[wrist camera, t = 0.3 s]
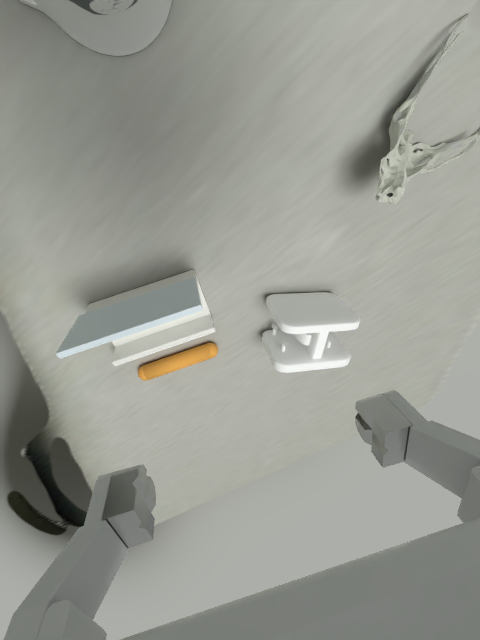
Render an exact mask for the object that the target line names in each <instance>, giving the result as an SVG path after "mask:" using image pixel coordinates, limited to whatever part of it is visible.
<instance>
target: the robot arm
mask: <svg viewBox="0 0 480 640" xmlns="http://www.w3.org/2000/svg"><path fill="white" fill-rule="evenodd" d="M20 1H21V2H23V3H25V4H27V5H29V6H31V7H33V8H35V9H38V10H40V11H42V12H44V13H45V14H46V15H48V16H49V17H50V18H51V19H52V20H53V21H54V22H55V23H56V24H57V25H59V26H60V27H61V28H62V29H63V30H64V31H65V32H66V33H67V34H68V35H69V36H71V37H72V38H73V39H75V40H76V41H77V42H79V43H80V44H82V45H84V46H85V47H87V48H89V49H91V50H94V51H96V52H99V53H102V54H106V55H112V56H124V55H130V54H133V53H136V52H139V51H141V50H142V49H144V48H146V47H147V46H148V45H149V44H151V43H152V42H153V41H154V40H155V38H156V37H157V36H158V35H159V33H160V32H161V30H162V28H163V26H164V25H165V22H166V20H167V17H168V15H169V11H170V8H171V4H172V0H20ZM355 409H356V410H357V411H358V414H357V415H356V417H355V421H356V426H357V430H358V432H359V434H360V436H361V437H362V439H363V440H364V441H365V442H366V443H368V444H370V445H372V451H371V452H372V453H373V455H374V456H375V457H376V459H377V460H378V462H379V463H380V465H381V466H382V467H386V466H390V465H394V464H397V463H400V462H404V461H405V463H406V464H408V465H409V466H411V467H413V468H414V469H416V470H418V471H419V472H421V473H422V474H424V475H425V476H427V477H429V478H430V479H432V480H433V481H435V482H436V483H438V484H440V485H441V486H443V487H444V488H446V489H448V490H449V491H451V492H452V493H454V494H456V495H457V496H459V497H460V498H462V500H461V503H460V506H459V509H458V515H457V516H458V517H459V518H460V519H461V521H462V522H463V524H460V525H456V526H454V527H451V528H448V529H445V530H442V531H439V532H436V533H433V534H430V535H427V536H424V537H421V538H418V539H415V540H412V541H409V542H407V543H403V544H401V545H397V546H395V547H392V548H389V549H386V550H383V551H380V552H377V553H374V554H371V555H368V556H365V557H362V558H359V559H356V560H353V561H350V562H347V563H344V564H341V565H338V566H336V567H333V568H330V569H327V570H324V571H321V572H318V573H315V574H312V575H309V576H306V577H303V578H300V579H297V580H294V581H291V582H288V583H285V584H283V585H279V586H277V587H274V588H271V589H268V590H265V591H262V592H259V593H256V594H253V595H250V596H247V597H244V598H241V599H238V600H235V601H232V602H230V603H227V604H224V605H220V606H218V607H215V608H212V609H209V610H206V611H203V612H200V613H197V614H194V615H191V616H188V617H186V618H182V619H179V620H177V621H173V622H170V623H167V624H165V625H162V626H159V627H156V628H153V629H150V630H147V631H144V632H141V633H138V634H135V635H132V636H129V637H127V638H124V639H120V640H480V440H478V439H476V438H473V437H471V436H469V435H466V434H464V433H461V432H459V431H456V430H454V429H451V428H449V427H446V426H444V425H441V424H439V423H436V422H434V421H427V420H426V419H425V418H424V417H423V416H422V415H421V414H420V413H419V412H418V411H417V410H416V409H415V408H414V407H413V406H411V405H410V404H409V403H408V402H407V401H406V400H405V399H404V398H403V397H402V396H401V395H400V394H399V393H398V392H397V391H395V390H393V391H390V392H387V393H383V394H379V395H376V396H372V397H369V398H366V399H363V400H359V401H357V402H356V408H355ZM146 472H147V470H146V468H145V466H144V465H138V466H134V467H131V468H127V469H123V470H119V471H116V472H112V473H108V474H105V475H101V476H99V477H98V479H97V480H96V483H95V486H94V490H93V494H92V498H91V502H90V505H89V509H88V513H87V516H86V520H85V524H84V526H83V527H80V528H79V529H78V530H77V532H76V533H75V534H74V535H73V537H72V538H71V539H70V541H69V542H68V543H67V545H66V546H65V547H64V548H63V550H62V551H61V553H60V554H59V555H58V556H57V558H56V559H55V560H54V562H53V563H52V564H51V565H50V567H49V568H48V569H47V571H46V572H45V573H44V575H43V576H42V577H41V579H40V580H39V581H38V583H37V584H36V585H35V587H34V588H33V589H32V590H31V592H30V593H29V595H28V596H27V597H26V598H25V600H24V601H23V602H22V604H21V605H20V606H19V607H18V609H17V610H16V611H15V613H14V614H13V616H12V619H11V622H10V624H9V627H8V630H7V633H6V635H5V638H4V640H106V635H107V634H106V632H105V631H104V629H103V628H101V627H100V626H99V625H98V624H97V623H95V622H94V621H93V618H94V616H95V614H96V612H97V610H98V608H99V606H100V604H101V602H102V601H103V599H104V596H105V595H106V593H107V591H108V589H109V587H110V585H111V582H112V581H113V579H114V577H115V575H116V573H117V571H118V569H119V567H120V565H121V563H122V561H123V559H124V557H125V555H126V554H127V551H128V548H130V547H133V546H136V545H139V544H142V543H145V542H148V541H151V540H153V533H154V517H153V515H152V513H151V512H152V510H153V508H154V507H155V504H156V493H155V486H154V483H153V481H152V479H151V477H148V476H146Z"/></svg>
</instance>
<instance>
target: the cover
mask: <svg viewBox="0 0 480 640" xmlns="http://www.w3.org/2000/svg"><path fill="white" fill-rule="evenodd" d="M202 310H203V309H202V304H201V299H200V295H199V290H198V285H197V281H196V278H195V277H194V278H191V279H188V280H185V281H182V282H179V283H176V284H173V285H170V286H167V287H164V288H161V289H158V290H155V291H152V292H149V293H146V294H142V295H139V296H136V297H133V298H130V299H127V300H124V301H121V302H118V303H115V304H112V305H109V306H106V307H103V308H100V309H97V310H94V311H91V312H88V313H85V314H82V315H79V317H78V318H77V320H76V322H75V323H74V325H73V326H72V328H71V330H70V331H69V333H68V335H67V336H66V338H65V339H64V341H63V343H62V344H61V346H60V348H59V349H58V351H57V352H56V355H57V356H58V357H59V359H60V358H63V357H66V356H69V355H72V354H75V353H78V352H81V351H84V350H87V349H90V348H93V347H96V346H99V345H102V344H105V343H108V342H111V341H113V340H116V339H119V338H122V337H125V336H128V335H131V334H134V333H137V332H140V331H143V330H146V329H149V328H152V327H155V326H158V325H161V324H164V323H167V322H170V321H173V320H175V319H178V318H181V317H184V316H187V315H190V314H193V313H196V312H199V311H202Z"/></svg>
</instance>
